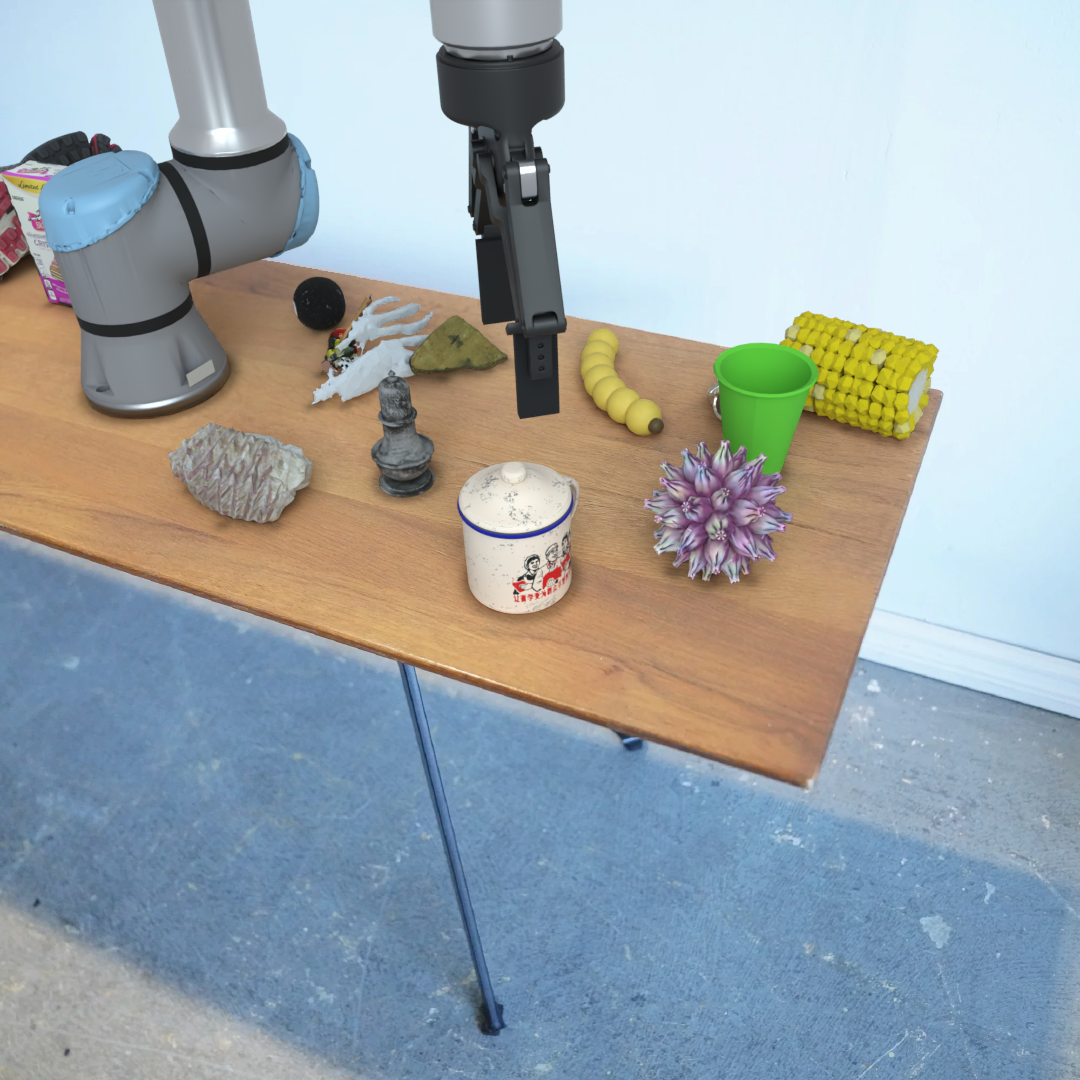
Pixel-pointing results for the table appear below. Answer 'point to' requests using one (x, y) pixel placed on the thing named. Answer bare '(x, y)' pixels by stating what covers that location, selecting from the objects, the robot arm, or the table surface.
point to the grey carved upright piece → (401, 442)
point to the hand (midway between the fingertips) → (517, 364)
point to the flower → (718, 511)
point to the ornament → (715, 399)
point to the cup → (763, 398)
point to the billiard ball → (319, 303)
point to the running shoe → (3, 233)
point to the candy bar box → (36, 222)
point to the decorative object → (375, 351)
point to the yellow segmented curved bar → (616, 386)
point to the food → (864, 373)
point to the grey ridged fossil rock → (240, 472)
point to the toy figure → (336, 338)
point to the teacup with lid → (518, 535)
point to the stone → (455, 349)
